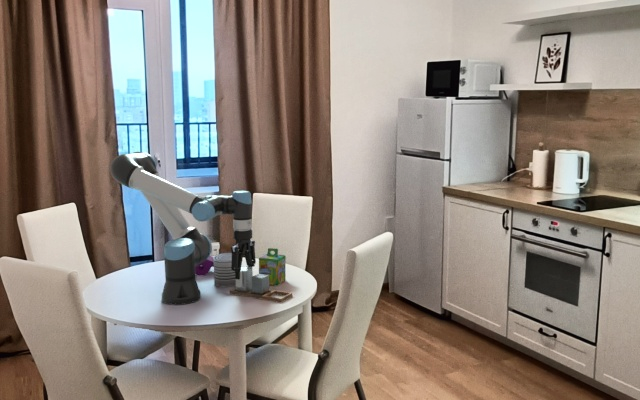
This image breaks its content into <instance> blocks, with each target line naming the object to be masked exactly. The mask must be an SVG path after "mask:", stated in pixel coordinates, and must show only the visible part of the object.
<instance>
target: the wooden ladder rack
mask: <svg viewBox="0 0 640 400" xmlns="http://www.w3.org/2000/svg"><path fill="white" fill-rule="evenodd" d="M229 294H230V295H234V296H241V297H248V298H254V299H258V300H259V299H260V300H266V301H270V300H271V302H276V301H277V303H283V302H284V301H286V300H288V299H290V298H292V297H293V292H289V291H288V292H287V291H283V290H282V291H281V290H276V289H269V293H267V294H265V295H263V296H262V295H256V294H252V291H250V292H248V293H244V292H238V291H236V287H235V288H233V289H230V290H229ZM277 294H278V296H282V297H275V296H274V295H277Z"/></svg>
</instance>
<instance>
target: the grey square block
mask: <svg viewBox="0 0 640 400" xmlns="http://www.w3.org/2000/svg"><path fill="white" fill-rule="evenodd" d="M241 271H242V287H237V286H236V285H235V288H236V291H238V292H244V293H248V292H250V291H252V276H254V275H253V267H252V268H248V267H246V266H241Z"/></svg>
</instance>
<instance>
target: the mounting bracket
mask: <svg viewBox="0 0 640 400" xmlns="http://www.w3.org/2000/svg"><path fill="white" fill-rule="evenodd" d="M213 257H214V256H211V255H210V256H209V257H208V258H207V259H206V261H204V262H203V263H200V264H199V265H197V266H195V276H197V277H203V276H207V275H208V274H209V273H210V271H211V268H214V260H213Z"/></svg>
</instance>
